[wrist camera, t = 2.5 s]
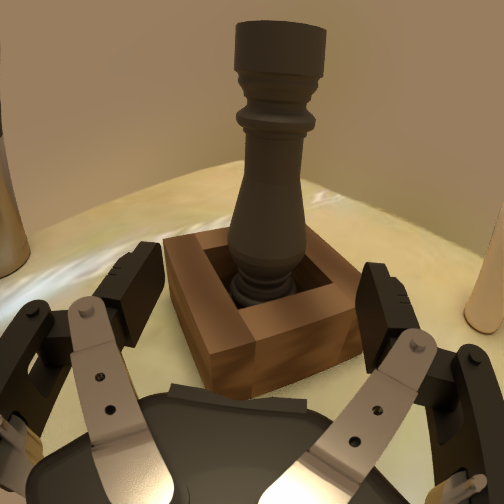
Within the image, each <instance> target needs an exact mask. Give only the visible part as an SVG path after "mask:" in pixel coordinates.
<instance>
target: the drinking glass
mask: <svg viewBox="0 0 504 504" xmlns="http://www.w3.org/2000/svg"><path fill="white" fill-rule="evenodd" d="M464 313H465V317H466V319H467V321H468V322H469V324H470V325H471V326H472V327H474V328H475V329H476V330H478V331H480V332H483V333H492V332H494V331H496V330H497V329H498V328H499V326H500V324H501V323H502V321H503V320H504V202H503V205H502V207H501V210H500V213H499V215H498V218H497V221H496V224H495V227H494V230H493V233H492V237H491V240H490V243H489V247H488V250H487V253H486V256H485V259H484V262H483V265H482V267H481V270H480V273H479V276H478V278H477V281H476V284H475V286H474V289H473V291H472V294H471V296H470V298H469V300H468V302H467V304H466V306H465V310H464Z"/></svg>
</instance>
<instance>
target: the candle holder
mask: <svg viewBox="0 0 504 504" xmlns="http://www.w3.org/2000/svg"><path fill="white" fill-rule="evenodd" d="M235 34H236V35H235V57H234V58H235V59H234V70H235V71H236V72H237V73H238V75H239V78H238V83H239V85H240V86H241V87H242V89H243V91H244V96H245V97H246V98H247V105H246V106H245V107H244V108H242V109H241V110H240V111H238V112H237V113H236V120H237V122H238V124H239V125H240V126H242V127H243V131H244V132H245V133H246V142H245V168H244V177H243V180H242V184H241V187H240V191H239V195H238V198H237V202H236V206H235V209H234V213H233V216H232V220H231V223H230V227H229V231H228V234H227V243H228V248H229V252H230V255H231V258H232V259H233V261H234V262H235V264H236V265H237V267H238V271H239V272H238V273H237V274H236V275H235V276H234V277H233V279H232V282H231V284H230V293H229V296H230V298H231V299H232V301H233V303H234V305H235V306H236V308H237V310H240V309H243V308H247V307H251V306H255V305H258V304H262V303H266V302H269V301H273V300H277V299H280V298H284V297H287V296H291V295H294V294H296V290H297V287H296V285H295V283H294V281H293V279H292V278H291V277H290V276H291V274H292V270H293V269H294V268H295V267H296V266H297V265H298V264H299V263H300V262H301V261H302V259H303V257H304V255H305V251H306V244H307V233H306V225H305V216H304V208H303V199H302V191H301V183H300V170H301V160H302V150H303V140H304V138H305V137H306V136H307V132H309V131H311V130H313V129H314V126H315V122H316V119H315V117H314V116H313V115H312V114H311V113H310V112H309V111H308V110H307V109H306V105H307V103H308V102H309V101H310V100H311V95H312V94H313V93H314V92H315V91H316V90H317V88H318V80H319V79H320V78H322V77H323V72H324V60H325V44H326V30H325V29H323V28H320V27H317V26H312V25H308V24H303V23H295V22H287V21H269V20H261V21H247V22H241V23H238V24H237V25H236V33H235Z"/></svg>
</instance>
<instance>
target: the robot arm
mask: <svg viewBox="0 0 504 504" xmlns="http://www.w3.org/2000/svg"><path fill="white" fill-rule="evenodd" d="M29 254H30V247H29V244H28V241H27V237H26V235H25V231H24V228H23V224H22V221H21V217H20V214H19V210H18V206H17V202H16V198H15V194H14V190H13V186H12V181H11V177H10V172H9V167H8V162H7V157H6V151H5V145H4V139H3V133H2V124H1V103H0V278H1V277H3V276H6V275H8V274H10V273H12V272H13V271H15V270H16V269H18V268H19V267H20V266H21V265H22V264H23V263H24V262H25V261H26V260H27V258H28V257H29ZM164 284H165V272H164V265H163V257H162V250H161V245H160V243H155V242H144V241H141V242H140V243H139V244H138V246H137V247H136V248H135V250H134V251H133V252H132V253H130V252H128V253H127V254H125V255H124V256H122V257H121V258H119V259H118V260H117V262H116V263H115V264H114V266H113V269H111V270H110V271H109V273H108V275H106V277H105V278H104V279H103V281H102V282H101V284H100V285H99V286H98V288H97V289H96V291H95V292H94V293H93V295H92V296H87V297H83V298H80V299H78V300H76V301H75V302H74V303H73V304H72V305H71V306H70V307H69V310H60V311H51V309H50V307H49V304H48V303H47V302H46V301H44V300H33V301H31V302H28V303H27V304H25V305H24V306H23V307H22V308H21V309H20V310H19V312H18V313H17V314H16V316H15V317H14V319H13V320H12V322H11V323H10V324H9V326H8V327H7V329H6V330H5V332H4V333H3V335H2V336H1V338H0V488H2V489H4V490H5V491H8V492H16V493H18V494H19V495H22V496H23V497H25V498H26V503H27V504H410V503H409V502H408V501H407V500H406V499H405V498H404V497H403V496H402V495H401V494H400V493H399V492H398V491H397V490H396V489H395V487H394V486H393V485H392V484H391V483H390V482H389V481H388V480H387V479H386V478H385V477H384V476H383V475H382V474H381V473H380V471H379V470H378V469H377V468H376V467H375V466H374V465H375V463H376V462H377V460H378V459H379V458H380V456H381V455H382V453H383V452H384V450H385V449H386V447H387V446H388V444H389V442H390V441H391V439H392V438H393V436H394V435H395V433H396V431H397V430H398V428H399V426H400V425H401V423H402V421H403V420H404V418H405V416H406V415H407V413H408V411H409V409H410V408H411V406H412V404H413V403H414V404H418V405H422V406H425V409H426V415H427V422H428V429H429V436H430V443H431V451H432V460H433V470H434V481H435V487H434V488H433V489H431V491H430V492H429V493H428V495H427V497H426V499H425V504H504V400H503V397H502V393H501V390H500V387H499V384H498V381H497V379H496V376H495V373H494V370H493V367H492V365H491V362H490V359H489V357H488V355H487V354H486V352H485V351H484V350H483V349H481V348H480V347H478V346H476V345H473V344H465V345H463V346H461V347H460V348H459V350H458V352H457V353H455V352H451V351H448V350H444V349H441V348H438V347H437V344H436V342H435V340H434V338H433V337H432V336H431V335H430V334H428V333H427V332H425V331H423V330H421V329H420V326H419V323H418V321H417V318H416V315H415V313H414V310H413V307H412V305H411V304H410V303H411V302H410V300H409V297H407V296H408V295H407V292H406V290H405V287H404V285H403V284H402V283H401V282H400V281H399V280H398V279H397V278H396V277H390V275H389V272H388V270H387V267H386V265H385V264H383V263H372V262H366V263H365V265H364V268H363V271H362V275H361V279H360V282H359V286H358V289H357V292H356V297H355V310H356V315H357V320H358V325H359V330H360V336H361V341H362V347H363V353H364V359H365V365H366V371H367V374H371V375H370V377H369V378H368V379H367V381H366V382H365V383H364V385H363V386H362V387H361V389H360V390H359V391H358V392H357V394H356V395H355V396H354V398H353V399H352V400H351V401H350V403H349V404H348V405H347V406H346V408H345V409H344V410H343V411H342V412H341V414H340V415H339V416H338V417H337V418H336V420H335V421H334V422H333V421H332V420H330V419H329V418H327V417H326V416H324V415H322V414H320V413H318V412H315V411H313V410H309V409H307V399H293V398H279V397H269V398H261V399H252V400H243V401H236V400H232V399H230V398H227V397H224V396H221V395H219V394H216V393H213V392H211V391H208V390H206V389H202V388H196V387H190V386H184V385H178V384H173V383H171V386H170V389H169V392H165V393H157V394H153V395H149V396H146V397H144V398H141V399H139V397H138V395H137V393H136V390H135V388H134V385H133V383H132V380H131V377H130V375H129V372H128V369H127V367H126V364H125V361H124V358H123V356H122V353H121V351H122V349H123V347H124V346H127V347H132V348H135V346H136V344H137V342H138V340H139V338H140V336H141V333H142V331H143V329H144V327H145V325H146V323H147V321H148V319H149V317H150V315H151V313H152V311H153V309H154V307H155V304H156V302H157V300H158V298H159V296H160V294H161V292H162V290H163V288H164ZM35 353H37V354H38V358H37V360H36V362H35V363H34V365H33V367H32V369H31V371H30V373H29V374H28V366H29V364H30V362H31V360H32V359H33V357H34V355H35ZM71 367H72V368H73V373H74V378H75V382H76V387H77V391H78V395H79V400H80V404H81V408H82V412H83V415H84V419H85V423H86V426H87V430H88V432H86V433H85V434H83V435H82V436H80V437H78V438H77V439H75V440H73V441H72V442H70V443H68V444H67V445H65V446H63V447H62V448H60V449H58V450H57V451H55V452H53V453H51V454H50V455H48V456H46V457H45V458H44V456H43V454H42V452H43V445H42V442H41V440H40V437H41V435H42V432H43V430H44V427H45V425H46V422H47V420H48V418H49V415H50V413H51V411H52V408H53V406H54V404H55V401H56V399H57V397H58V395H59V393H60V390H61V388H62V386H63V384H64V382H65V380H66V377H67V375H68V373H69V371H70V369H71Z"/></svg>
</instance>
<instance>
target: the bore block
mask: <svg viewBox="0 0 504 504" xmlns="http://www.w3.org/2000/svg"><path fill="white" fill-rule="evenodd" d="M305 225H306V224H305ZM228 231H229V227H226V228H220V229H215V230H209V231H204V232H198V233H193V234H187V235H182V236H176V237H171V238H166V239H163V245H164V253H165V261H166V269H167V276H168V283H169V290H170V297H171V300H172V303H173V305H174V308H175V311H176V314H177V316H178V319H179V322H180V325H181V327H182V330H183V333H184V335H185V338H186V341H187V343H188V346H189V348H190V351H191V354H192V356H193V359H194V361H195V364H196V366H197V369H198V371H199V373H200V376H201V378H202V381H203V383H204V386H205V388H206V390H208V391H211V392H213V393H216V394H219V395H221V396H224V397H227V398H230V399H232V400H236V401H243V400H247V399H250V398H253V397H256V396H259V395H262V394H264V393H267V392H270V391H273V390H275V389H278V388H281V387H284V386H286V385H289V384H291V383H294V382H296V381H299V380H302V379H304V378H307V377H309V376H311V375H314V374H316V373H319V372H321V371H323V370H326V369H328V368H330V367H333V366H335V365H337V364H339V363H342V362H344V361H346V360H348V359H351V358H353V357H355V356H357V355H359V354H361V353H362V351H363V347H362V341H361V336H360V330H359V325H358V320H357V315H356V310H355V297H356V292H357V289H358V286H359V282H360V279H361V275H362V274H361V273H360V272H359V271H358V270H357V269H356V268H355V267H353V266H352V265H351V264H350V263H349V262H348V261H347V260H346V259H345V258H343V257H342V256H341V255H340V254H339V253H338V252H337V251H336V250H335V249H333V248H332V247H331V246H330V245H329V244H328V243H327V242H325V241H324V240H323V239H322V238H321V237H320V236H319V235H317V234H316V233H315V232H314V231H313V230H312V229H311V228H309V227H308V226H307V225H306V233H307V244H306V251H305V255H304V257H303V259H302V261H301V262H300V263H299V264H298V265H297V266H296V267H295V268H294V269H293V270H292V274H291V276H290V277H291V278H292V279H293V281H294V283H295V285H296V287H297V290H296V294H294V295H291V296H287V297H284V298H280V299H277V300H273V301H269V302H266V303H262V304H258V305H255V306H251V307H247V308H243V309H240V310H237V308H236V306H235V305H234V303H233V301H232V299H231V298H230V296H229V293H230V284H231V282H232V279H233V277H234V276H235V275H236V274H237V273H238V272H239V271H238V267H237V265H236V264H235V262H234V261H233V259H232V258H231V255H230V252H229V248H228V243H227V234H228Z"/></svg>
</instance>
